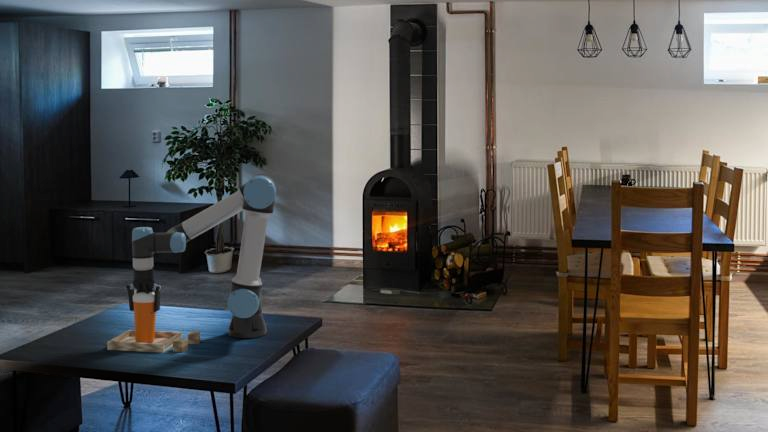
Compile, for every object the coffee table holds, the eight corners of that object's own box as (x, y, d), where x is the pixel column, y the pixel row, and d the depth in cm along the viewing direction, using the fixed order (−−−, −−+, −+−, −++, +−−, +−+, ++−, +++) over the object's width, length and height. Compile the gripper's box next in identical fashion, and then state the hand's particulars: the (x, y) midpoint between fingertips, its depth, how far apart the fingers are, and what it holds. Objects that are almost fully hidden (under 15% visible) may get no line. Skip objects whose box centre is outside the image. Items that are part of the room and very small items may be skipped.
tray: (182, 339, 328) (182, 332, 328) (163, 352, 311) (163, 344, 310) (129, 337, 332) (128, 329, 331) (107, 349, 314) (107, 341, 314)
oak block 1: (188, 349, 315) (187, 339, 315) (182, 352, 311) (182, 341, 311) (178, 348, 316) (178, 338, 316) (172, 351, 313) (172, 340, 312)
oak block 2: (200, 341, 327) (199, 331, 326) (198, 344, 323) (198, 333, 322) (189, 341, 326) (189, 331, 326) (188, 344, 322) (188, 334, 322)
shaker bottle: (150, 344, 316) (150, 292, 314) (128, 342, 318) (128, 290, 315) (161, 338, 325) (161, 287, 322) (139, 336, 326) (139, 285, 324)
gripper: (168, 267, 320) (170, 327, 323) (127, 266, 323) (129, 325, 326) (160, 270, 313) (162, 332, 316) (117, 269, 315) (120, 330, 318)
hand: (145, 329), depth 321 cm, fingers open, 4 cm apart
